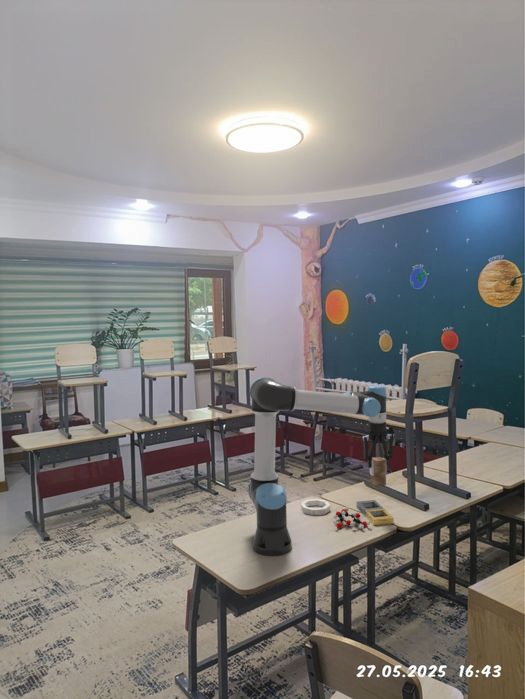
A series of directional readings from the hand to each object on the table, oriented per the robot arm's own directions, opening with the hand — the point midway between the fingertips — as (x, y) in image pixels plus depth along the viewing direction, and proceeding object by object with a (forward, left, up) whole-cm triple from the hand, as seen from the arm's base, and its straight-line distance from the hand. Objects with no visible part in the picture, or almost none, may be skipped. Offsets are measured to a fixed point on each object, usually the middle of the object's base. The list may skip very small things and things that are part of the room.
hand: (378, 474), depth 213 cm
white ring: (-24, +16, -20) cm, 35 cm away
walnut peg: (0, 0, -4) cm, 4 cm away
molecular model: (-14, -2, -21) cm, 25 cm away
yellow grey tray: (0, +5, -20) cm, 21 cm away
